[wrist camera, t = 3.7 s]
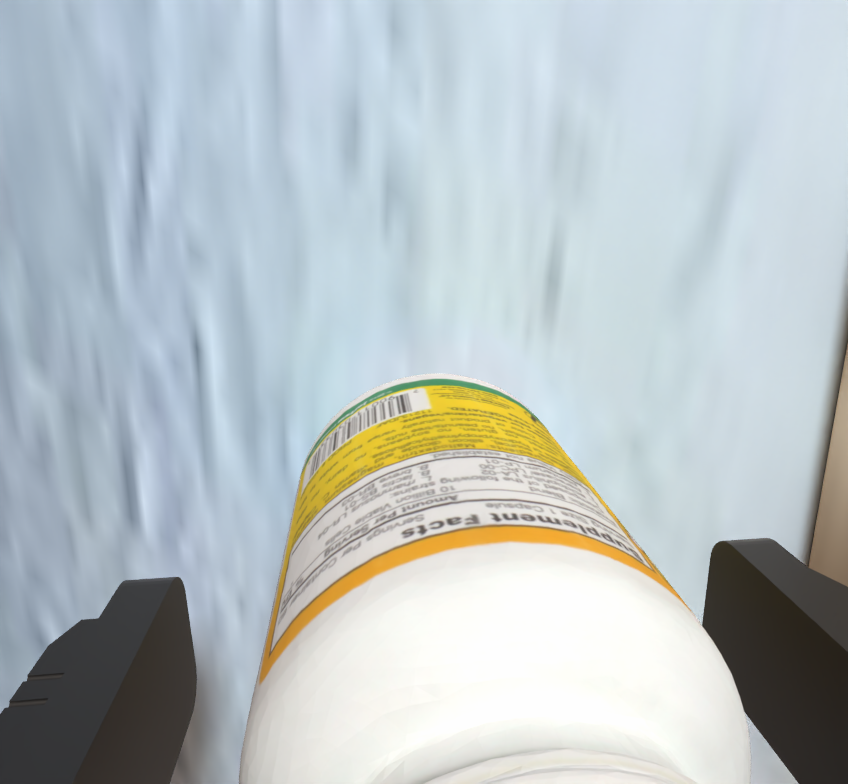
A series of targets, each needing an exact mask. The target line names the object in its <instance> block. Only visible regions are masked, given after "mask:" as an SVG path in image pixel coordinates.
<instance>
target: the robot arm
mask: <svg viewBox="0 0 848 784" xmlns="http://www.w3.org/2000/svg"><path fill="white" fill-rule="evenodd" d="M702 626H703V628H704V629H705V631H706V632H707V633H708V635H709V636H710V638H711V639H712V640H713V642H714V644H715V645H716V647H717V648H718V650H719V652H720V653H721V655H722V657H723V659H724V661H725V663H726V664H727V666H728V668H729V670H730V672H731V674H732V677H733V679H734V682H735V685H736V688H737V690H738V693H739V696H740V699H741V702H742V705H743V709H744V712H745V713H746V714H747V716H748V717H749V718H750V720H751V721H752V722H753V724H754V725H755V726H756V728H757V729H758V730H759V732H760V733H761V734H762V735H763V737H764V738H765V739H766V741H767V742H768V743H769V745H770V746H771V747H772V749H773V750H774V751H775V753H776V754H777V755H778V757H779V758H780V759H781V761H782V762H783V763H784V765H785V766H786V767H787V769H788V770H789V771H790V773H791V774H792V775H793V776H794V778H795V779H796V780H797V782H798V783H799V784H848V587H847V586H845V585H843V584H841V583H839V582H837V581H835V580H833V579H831V578H829V577H827V576H825V575H823V574H821V573H819V572H817V571H815V570H813V569H811V568H808V567H806V566H805V565H804V564H803V563H802V562H800V561H799V560H798V559H797V558H795V557H794V556H793V555H792V554H790V553H789V552H788V551H787V550H786V549H784V548H783V547H782V546H781V545H779V544H778V543H777V542H775V541H774V540H772V539H769V538H760V539H745V540H731V541H720V542H718V543H717V544H716V545H715V546H714V548H713V550H712V553H711V558H710V565H709V574H708V582H707V590H706V599H705V607H704V615H703V624H702ZM196 683H197V674H196V663H195V656H194V649H193V642H192V635H191V628H190V621H189V614H188V607H187V600H186V593H185V588H184V584H183V582H182V580H181V579H180V578H179V577H169V578H154V579H139V580H126V581H123V582H122V583H121V584H120V586H119V587H118V589H117V590H116V592H115V593H114V595H113V596H112V598H111V600H110V601H109V603H108V604H107V606H106V608H105V609H104V611H103V612H102V614H101V616H100V617H99V619H86V620H81V621H79V622H78V623H77V624H76V625H74V626H73V627H72V628H71V629H69V630H68V631H67V632H65V633H64V634H63V635H62V636H60V637H59V638H58V639H56V640H55V641H54V642H53V643H51V644H50V645H49V646H48V647H47V649H46V650H45V651H44V653H43V654H42V656H41V657H40V659H39V660H38V661H37V663H36V664H35V666H34V667H33V669H32V670H31V671H30V673H29V674H28V679H27V681H26V682H23V683H22V684H21V686H20V687H19V688H18V690H17V691H16V693H15V694H14V696H13V697H12V698H11V700H10V701H9V702H10V704H9V708H4V710H3V711H2V713H1V714H0V784H170V781H171V778H172V775H173V771H174V768H175V765H176V762H177V759H178V756H179V753H180V750H181V747H182V744H183V741H184V738H185V735H186V732H187V729H188V726H189V723H190V720H191V716H192V713H193V709H194V703H195V696H196Z"/></svg>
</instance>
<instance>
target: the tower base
mask: <svg viewBox="0 0 848 784" xmlns="http://www.w3.org/2000/svg"><path fill="white" fill-rule="evenodd" d="M808 568H811V569H813V570H815V571H817V572H819V573H821V574H823V575H825V576H827V577H829V578H831V579H833V580H835V581H837V582H839V583H841V584H843V585H845V586H847V587H848V344H847V350H846V356H845V361H844V367H843V373H842V378H841V384H840V390H839V396H838V401H837V407H836V413H835V418H834V424H833V430H832V435H831V441H830V447H829V453H828V458H827V464H826V470H825V475H824V481H823V487H822V492H821V498H820V504H819V510H818V515H817V521H816V527H815V532H814V538H813V544H812V549H811V555H810V561H809V567H808Z"/></svg>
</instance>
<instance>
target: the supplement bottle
mask: <svg viewBox="0 0 848 784" xmlns="http://www.w3.org/2000/svg"><path fill="white" fill-rule="evenodd" d="M750 777H751V750H750V739H749V730H748V725H747V720H746V715H745V712H744V709H743V705H742V702H741V699H740V696H739V693H738V690H737V688H736V685H735V682H734V679H733V677H732V674H731V672H730V670H729V668H728V666H727V664H726V663H725V661H724V659H723V657H722V655H721V653H720V652H719V650H718V648H717V647H716V645H715V644H714V642H713V640H712V639H711V638H710V636H709V635H708V633H707V632H706V631H705V629H704V628H703V626H702V625H701V624H700V622H699V621H698V619H697V618H696V617H695V615H694V614H693V613H692V611H691V610H690V609H689V608H688V606H687V605H686V604H685V603H684V601H683V600H682V599H681V598H680V596H679V595H678V594H677V593H676V591H675V590H674V589H673V588H672V586H671V585H670V584H669V583H668V581H667V580H666V579H665V577H664V576H663V575H662V573H661V572H660V571H659V570H658V568H657V567H656V566H655V565H654V563H653V562H652V561H651V560H650V558H649V557H648V556H647V555H646V553H645V552H644V551H643V550H642V548H641V547H640V546H639V545H638V544H637V542H636V541H635V540H634V539H633V537H632V536H631V535H630V534H629V532H628V531H627V530H626V529H625V527H624V526H623V525H622V524H621V523H620V521H619V520H618V519H617V517H616V516H615V515H614V514H613V512H612V511H611V510H610V509H609V507H608V506H607V505H606V503H605V502H604V501H603V500H602V498H601V497H600V496H599V494H598V493H597V492H596V491H595V489H594V488H593V487H592V485H591V484H590V483H589V482H588V480H587V479H586V478H585V476H584V475H583V474H582V473H581V471H580V470H579V469H578V468H577V466H576V465H575V464H574V463H573V461H572V460H571V459H570V458H569V457H568V455H567V454H566V453H565V452H564V450H563V449H562V448H561V446H560V445H559V444H558V443H557V442H556V440H555V439H554V438H553V437H552V435H551V434H550V433H549V431H548V430H547V429H546V427H545V426H544V425H543V424H542V423H541V422H540V421H539V419H538V418H537V417H536V416H535V415H534V414H533V413H532V412H531V411H530V410H529V409H528V408H527V407H526V406H525V405H524V404H523V403H522V402H521V401H519V400H518V399H517V398H515V397H514V396H512V395H511V394H509V393H508V392H506V391H504V390H502V389H501V388H499V387H496V386H494V385H492V384H489V383H487V382H484V381H481V380H478V379H474V378H469V377H464V376H459V375H453V374H437V373H436V374H422V375H415V376H410V377H405V378H400V379H396V380H394V381H391V382H388V383H385V384H382V385H380V386H378V387H375V388H373V389H371V390H369V391H368V392H366V393H364V394H362V395H361V396H359V397H358V398H356V399H355V400H353V401H352V402H350V403H349V404H348V405H346V406H345V407H344V408H343V409H342V410H340V411H339V412H338V413H337V414H336V415H335V416H334V417H333V418H332V419H331V420H330V421H329V423H328V424H327V425H326V426H325V427H324V429H323V430H322V432H321V433H320V434H319V436H318V437H317V439H316V441H315V442H314V444H313V445H312V447H311V449H310V451H309V453H308V455H307V458H306V460H305V463H304V466H303V469H302V473H301V476H300V480H299V485H298V490H297V495H296V500H295V504H294V509H293V514H292V519H291V523H290V528H289V532H288V537H287V541H286V546H285V551H284V555H283V560H282V565H281V570H280V575H279V579H278V584H277V589H276V594H275V598H274V603H273V608H272V612H271V617H270V622H269V626H268V631H267V636H266V640H265V645H264V650H263V654H262V659H261V663H260V667H259V672H258V676H257V680H256V684H255V689H254V693H253V697H252V702H251V707H250V712H249V717H248V722H247V727H246V732H245V737H244V742H243V747H242V753H241V762H240V773H239V784H750Z"/></svg>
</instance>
